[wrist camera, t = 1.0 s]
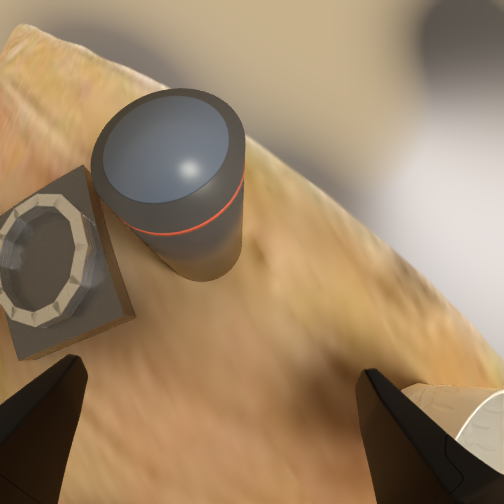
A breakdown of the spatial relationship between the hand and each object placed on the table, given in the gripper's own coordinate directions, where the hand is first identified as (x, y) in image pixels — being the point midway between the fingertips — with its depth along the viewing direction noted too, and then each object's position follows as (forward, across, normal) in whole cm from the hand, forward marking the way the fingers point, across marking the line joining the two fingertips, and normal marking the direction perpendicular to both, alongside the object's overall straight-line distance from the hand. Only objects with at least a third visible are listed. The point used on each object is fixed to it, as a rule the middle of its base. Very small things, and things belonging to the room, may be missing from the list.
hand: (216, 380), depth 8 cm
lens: (+15, +2, +2) cm, 15 cm away
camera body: (+13, +15, +4) cm, 20 cm away
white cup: (+6, -15, +14) cm, 21 cm away
